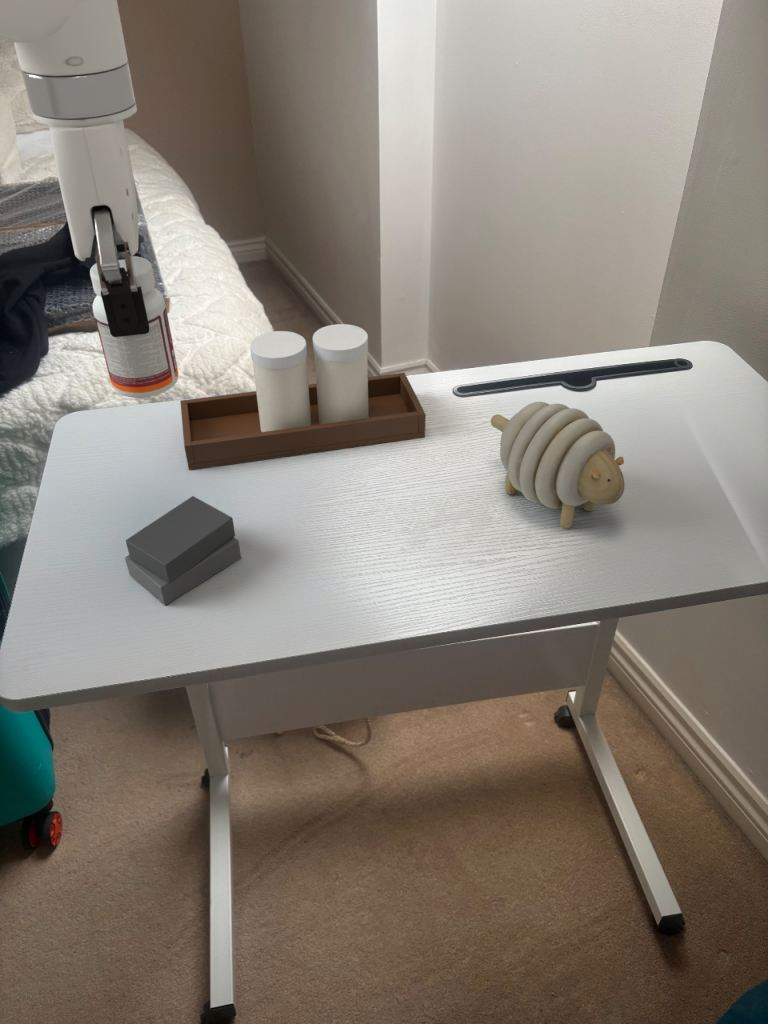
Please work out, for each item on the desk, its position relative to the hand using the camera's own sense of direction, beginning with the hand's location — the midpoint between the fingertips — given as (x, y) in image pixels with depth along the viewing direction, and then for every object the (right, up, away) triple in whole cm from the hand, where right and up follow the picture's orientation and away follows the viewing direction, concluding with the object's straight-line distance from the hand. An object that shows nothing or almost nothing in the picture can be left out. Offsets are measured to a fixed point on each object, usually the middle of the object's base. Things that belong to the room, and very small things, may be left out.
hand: (130, 313), depth 73 cm
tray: (+13, -8, +27) cm, 30 cm away
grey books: (+3, -23, +8) cm, 24 cm away
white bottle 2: (+17, -6, +27) cm, 33 cm away
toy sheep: (+40, -16, +17) cm, 46 cm away
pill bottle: (0, -6, +5) cm, 7 cm away
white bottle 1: (+11, -7, +26) cm, 29 cm away
